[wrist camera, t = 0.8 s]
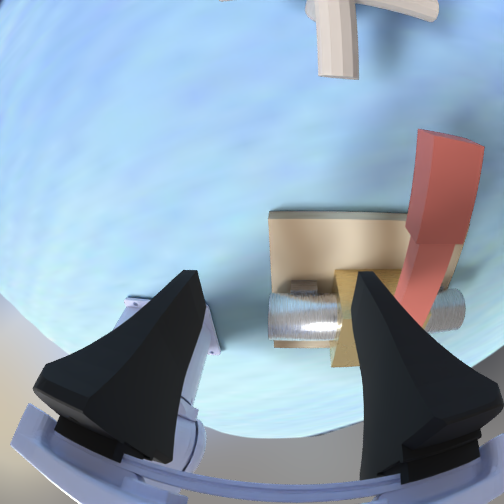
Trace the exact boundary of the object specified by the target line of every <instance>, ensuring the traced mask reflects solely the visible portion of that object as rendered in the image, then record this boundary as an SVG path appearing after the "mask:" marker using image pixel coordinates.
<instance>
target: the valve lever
mask: <svg viewBox="0 0 504 504" xmlns="http://www.w3.org/2000/svg"><path fill="white" fill-rule="evenodd" d="M483 155H484V146H482V145H480V144H478V143H475V142H473V141H471V140H469V139H467V138H463V137H458V136H454V135H449V134H445V133H440V132H435V131H429V130H423V129H418V135H417V148H416V158H415V168H414V176H413V183H412V190H411V196H410V202H409V208H408V214H407V219H406V224H405V228H406V229H407V231H408V232H409V234H410V235H411V237H410V241H409V245H408V249H407V253H406V257H405V261H404V264H403V268H402V271H401V275H400V278H399V282H398V285H397V288H396V291H395V294H394V297H395V298H396V300H397V301H398V302H399V303H400V304H401V305H402V307H403V308H404V309H405V310H406V311H407V312H408V313H409V314H410V315H411V317H412V318H413V319H414V320H415V321H416V322H417V323H418V324H419V325H420V326H421V327H422V326H423V324H424V322H425V320H426V318H427V316H428V314H429V312H430V309H431V307H432V305H433V303H434V300H435V298H436V296H437V293H438V291H439V289H440V286H441V284H442V281H443V278H444V276H445V273H446V271H447V268H448V265H449V262H450V259H451V256H452V253H453V250H454V247H455V244H463V243H464V240H465V236H466V233H467V230H468V226H469V223H470V219H471V215H472V211H473V207H474V203H475V199H476V195H477V190H478V185H479V180H480V174H481V168H482V162H483Z"/></svg>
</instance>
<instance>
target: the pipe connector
mask: <svg viewBox="0 0 504 504" xmlns="http://www.w3.org/2000/svg"><path fill="white" fill-rule="evenodd" d="M219 1H221V2H223V1H231V0H219ZM355 3H356V4H362V5H367V6H373V7H377V8H382V9H386V10H390V11H394V12H398V13H402V14H405V15H409V16H412V17H415V18H419V19H422V20H425V21H428V22H433V21H434V20H436V18H437V16H438V13H439V4H438V1H437V0H307V1H306V6H305V12H306V14H307V16H308V17H309V18H310V19H311V20H313V21H315V22H316V30H317V49H318V76H321V77H330V78H341V79H354V80H359V57H358V35H357V20H356V9H355Z"/></svg>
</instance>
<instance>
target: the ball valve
mask: <svg viewBox="0 0 504 504" xmlns="http://www.w3.org/2000/svg"><path fill="white" fill-rule="evenodd" d="M358 271H373V272H374V273H375V274H376V275H377V277H378V278H379V279H380V280H381V281H382V283H383V284H384V285H385V286H386V288H387V289H388V290H389V291H390V292H391V294H392V295H393V296H394V294H395V291H396V288H397V285H398V282H399V278H400V275H401V271H402V269H344V270H334V278H333V286H332V293H318V288H317V280H291V293H270V298H269V310H268V338H269V340H284V341H326V340H329V344H330V357H331V367H352V366H360V365H359V360H358V355H357V350H356V345H355V340H354V335H353V329H352V319H351V305H352V300H353V296H354V291H355V286H356V281H357V276H358ZM464 317H465V300H464V297H463V295H462V293H461V292H460V290H458V289H456V288H453V289H444V285H443V283H442V284H441V286H440V289H439V291H438V293H437V296H436V298H435V300H434V303H433V305H432V307H431V309H430V312H429V314H428V316H427V318H426V320H425V322H424V324H423V326H422V328H423V329H424V330H425V331H426V332H427V333H428V334H430V333H438V332H446V331H453V330H457V329H458V328H460V326H461V325H462V323H463V321H464Z"/></svg>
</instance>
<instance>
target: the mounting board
mask: <svg viewBox="0 0 504 504" xmlns="http://www.w3.org/2000/svg"><path fill="white" fill-rule="evenodd" d="M406 219H407V214H406V213H380V212H341V211H269V217H268V224H269V242H270V262H271V283H272V293H291V280H317V288H318V293H332V286H333V278H334V270H344V269H402V268H403V264H404V261H405V257H406V253H407V249H408V245H409V241H410V237H411V235H410V234H409V232H408V231H407V229H406V228H405V224H406ZM469 226H470V224H469ZM469 226H468V229H469ZM467 232H468V230H467ZM466 236H467V233H466ZM466 236H465V239H466ZM464 242H465V240H464ZM463 245H464V243H463V244H455V247H454V250H453V253H452V256H451V259H450V262H449V265H448V268H447V271H446V273H445V276H444V278H443V281H442V283H443V285H444V289H447V288H448V286H449V283H450V281H451V278H452V276H453V273H454V271H455V268H456V265H457V263H458V260H459V257H460V254H461V251H462V248H463ZM274 348H330V344H329V340H326V341H284V340H274Z"/></svg>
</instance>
